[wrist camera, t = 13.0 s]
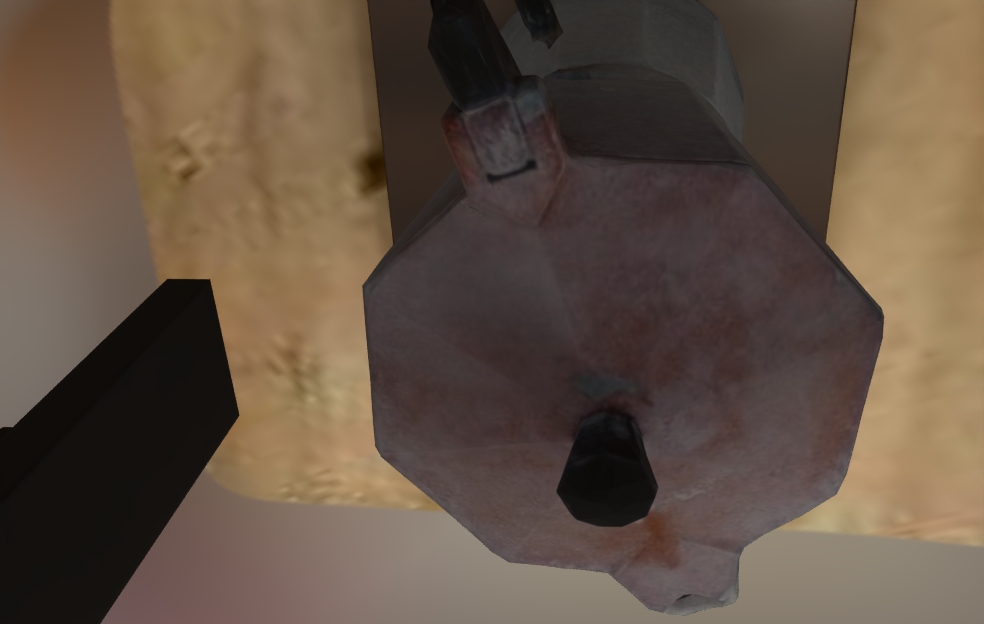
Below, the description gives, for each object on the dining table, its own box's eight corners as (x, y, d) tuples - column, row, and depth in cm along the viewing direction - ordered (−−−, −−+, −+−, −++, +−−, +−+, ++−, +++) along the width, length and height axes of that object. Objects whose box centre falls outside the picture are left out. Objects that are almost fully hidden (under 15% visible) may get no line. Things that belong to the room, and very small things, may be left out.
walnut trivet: (349, -225, 28) (342, -227, 27) (885, -261, 26) (892, -264, 25) (407, 336, 37) (403, 346, 36) (807, 343, 35) (811, 353, 34)
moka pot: (561, 326, 35) (508, 809, 17) (370, -57, 29) (-1, 79, 12) (804, 236, 32) (1037, 706, 14) (643, -207, 26) (701, -327, 9)
